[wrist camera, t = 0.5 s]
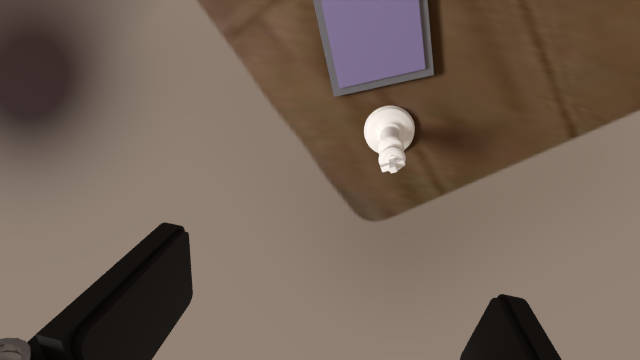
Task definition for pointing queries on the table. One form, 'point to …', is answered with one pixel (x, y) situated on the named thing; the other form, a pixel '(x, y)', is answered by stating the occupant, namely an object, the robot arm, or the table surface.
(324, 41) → the ink pad
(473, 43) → the table surface
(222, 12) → the table surface
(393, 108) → the chess piece
